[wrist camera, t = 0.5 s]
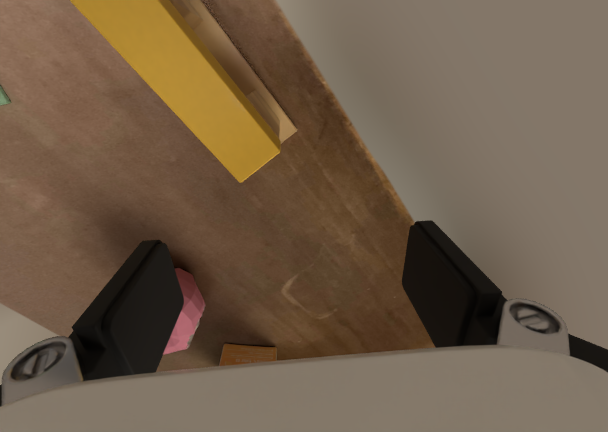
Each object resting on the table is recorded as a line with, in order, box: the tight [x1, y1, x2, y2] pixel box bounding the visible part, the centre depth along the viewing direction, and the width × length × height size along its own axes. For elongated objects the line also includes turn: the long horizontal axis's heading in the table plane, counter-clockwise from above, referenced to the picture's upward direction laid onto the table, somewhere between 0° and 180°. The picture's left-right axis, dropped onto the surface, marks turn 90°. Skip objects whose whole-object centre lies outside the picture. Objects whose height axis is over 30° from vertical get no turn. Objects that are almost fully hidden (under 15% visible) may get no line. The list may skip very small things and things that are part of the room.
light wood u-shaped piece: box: [169, 0, 297, 143], centre depth 22 cm, size 17×5×9 cm, turn 37°
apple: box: [163, 268, 206, 355], centre depth 32 cm, size 10×9×10 cm
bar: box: [70, 0, 281, 183], centre depth 17 cm, size 14×3×3 cm, turn 37°
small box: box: [219, 343, 277, 366], centre depth 38 cm, size 8×6×13 cm
